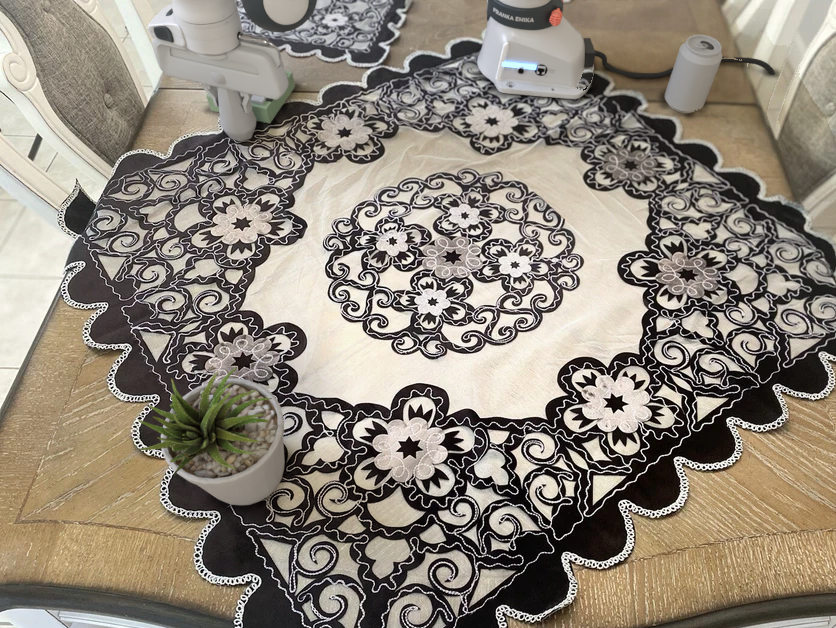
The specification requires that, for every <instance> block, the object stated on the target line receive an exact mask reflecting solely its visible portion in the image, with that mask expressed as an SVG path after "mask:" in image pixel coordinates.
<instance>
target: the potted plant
mask: <svg viewBox="0 0 836 628" xmlns="http://www.w3.org/2000/svg"><path fill="white" fill-rule="evenodd" d="M237 368H238V367H237V366H236V367H234V368H233V369H231V370H230V371H229V372H228V373H227V374H226V375H225V376H224V377H223V378H221V379H217V380H216V377H217V375H218V373H219V370H216V372H215V373H214V374H213V376H212V377H211V378H210V379H209V381H208V382H206V383H204V384H202V385H199V386H197V387H195V388H193V389H192V390H191V391H189V392H187V393H186V394H185V395H183V396H182V395H181V394H180V393H179V391H178V390H177V387H176V385H175V382H174V379H173V378H171V386H172V390H173V392H172V393H171V396H170V397H171V402H172V403H171V404H169V405H168V406H169V407H170V408H171V409H170V410H169V411H165V410H162V409H159V408H157V407H155V406H153V405H150V404H148V407H149V408H150V409H152V410H153V411H155V412H156V413H157V414H159V415H160V416H162V417H165V419H162V418H161V417H158V416H152V418H153V419H155V420H156V421H157V422H158V423H161V424H162V426H159V425H156V424H152V423H149V422H147V421H145V420H141V419H138V422H139V423H141V424H142V425H145V426H146V427H148V428H150V429H152V430H154V431H156V432H158V433H159V434H160V436H157V439H158V440H159V441H160V442H159V443H156V444H153V445H150V446H146V447H142V448H138V451H150V450H161V452H162V455H163V457H164V460H165V462H166V463H167V465H168V466H169V467H170V468H171V469H172V470H173V471H174V473H173V474H174V475H176V474H177V475H179V476H180V477H181V478H183V479H184V480H186V481H187V482H189V483H191V484H194V485H196V486H198V487H200V489H202V490H204V491H205V492H206V493H208V494H210V495H211V496H213V497H214V498H216V499H217V500H218V501H221V502H224V503H226V504H229V505H231V506H250V505H253V504H256V503H259V502H261V501H263V500H264V499H265V498H268V497H269V496H270V495H271V494H272V493H273V492H274V491H275V490H276V489H277V488H278V486H279V484H280V483H281V481H282V479H283V474H284V472H285V471H284V470H285V463H286V462H285V446H284V435H285V421H284V416H283V409H282V407H281V404H280V402H279V401H278V399H277V397H276V396H275V395H274V394H273V393H272V391H270V390H269V389H267V388H266V387H264V386H263V385H262V384H260V383H257V382H254V381H251V380H249V379H244V378H238V377H235V378H229V377H230V376H231V375H232V374H233V373H234V372H235V371H236V370H237Z"/></svg>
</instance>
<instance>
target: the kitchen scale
mask: <svg viewBox="0 0 836 628" xmlns="http://www.w3.org/2000/svg"><path fill="white" fill-rule="evenodd" d="M285 71H286V75H287V78H288V83H289V85H288V88H287V90H286V91H285V93H284V94H283V95H282V96H281V97H280V98H279V99H278V100H275V99H270V98H266V97H261V96H257V95H253V96H252V98H251V104H252V111H253V113H254V115H255V117H256V122H261V123H265V124H271V123H272V122H273V120H274V118H275V117H276V116H277V114H278V113H279V111H280V110H281V108H282V107H283V106H284V104H285V102H286V101H287V99H288V98H289V97H290V95H291V93H292V92H293V91H294V89H295V88H296V85H295V79H294V73H293V72H292V71H289V70H285ZM206 99H207V102H208V105H209V109H210V111H212V112H215V113H219V107H216V106H215V105H214V101H213V98H211V97H210V95H209V94H208V93H207V94H206Z"/></svg>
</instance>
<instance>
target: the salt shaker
mask: <svg viewBox="0 0 836 628" xmlns="http://www.w3.org/2000/svg"><path fill="white" fill-rule="evenodd" d="M211 77H212V80H213V81H214V82H215V83H218V84H223V85H225V84H226V80H225V77H224V75H223V74H221V73H218V72H211ZM217 91H218V102H219V112H218V113H219V125H220V127H221V128H222V130H223V132H224V133H225V134H226V135H227V136H228V137H229V138H230V139H231V140H233V141H238V142H244V141H248V140H250V139H253V135H254V133H255V130H256V127H257V121H256V117H255V115H254V113H253V111H252V110H251V111H250V113H245V112H244V111H243V109H242V107H241V105H240V104H242V102H243V100H244V97H243V96H241V94H240V92H238V91H234V90H229V89H224V88H220V87H217Z"/></svg>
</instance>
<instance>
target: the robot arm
mask: <svg viewBox="0 0 836 628" xmlns="http://www.w3.org/2000/svg"><path fill="white" fill-rule="evenodd" d="M237 1H238V0H171V3H168V4H167V5H165V6H164V7H163V8H162V9H161V10H160V11H158V13H156V15H155V16H154V17H153V18H152V19H151V21H150V22H149V23H148V25H147V26H146V27H147V31H148V33H149V35H150V37H151V38H152V41H151V45H152V49H153V53H154V56H155V59H156V62H157V64H158V67H159V69H160V70H161V72H162V73H164V74H165V75H166V77H169V78H174V79H179V80H183V81H186V82H187V81H188V82H191V83H192V82H193V83H197V84H200V85H201V87H202V89H203V90H204V91H205V93H207V94H209V95H210V97H211V98H213V101H214V105H215V106H216V107H219V102H218V91H217V87H220V88H224V89H229V90H234V91H238V92H240V94H241V96H243V97H244V100H243V102H242V104H240V105H241V107H242V109H243V111H244V112H245V113H250V111H251V110H252V104H251V98H252V96H253V95H257V96H261V97H266V98H270V99H275V100H278V99H279V98H280V97H281V96H282V95H283V94H284V93H285V91H286V90H287V88H288V85H289V83H288V78H287V75H286V71H287V70H286V69H285V65H284V63H283V61H282V56H281V51H280V48H279V47H278V46H277V45H275V44H274V42H272V41H270V39H269V38H268V37H265V36H256V35H253V34H250V33H246V32H244V28H243V25H242V21H241V16H240V11H239V8H238V4H237ZM240 2H241V5H242V7H243V9H244V13H245V14H246V16H247V17H248V18H249V20H250V21H251V22H252V23H253V24H254V25H255V26H257V27H258V28H260V29H262V30H264V31H267V32H271V33H286V32H291V31H294V30H296V29H299V28H300V27H301V26H303V25H304V24H305V23H306V22H308V20H309V19H310V18H311V16H312V15H313V14H314V11H315V9H316V7H317V4H318V3H317V2H318V0H240ZM564 4H565V3H564V0H486V9H485V10H486V12H485V14H486V22H487V23H486V29H485V33H484V37H483V38H484V39H483V43H482V45H481V48H480V51H479V53H478V55H477V60H476V65H477V67H478V70H479V71H480V73H481V74H482V75H483V76H484V77H486V78H487V79H488V80H489V81H490V82H492V83H493V84H494V86H495V88H496V90H497V91H499V93H502V94H508V95H509V94H510V95H521V96H533V97H534V96H535V97H544V98H554V99H566V100H567V99H568V100H578V99H580V98H581V97H583V96H585V94H586V93H587V92H588V91H589V89H590V88H591V86H592V82H593V79H594V76H593V77H592V80H591V83H590V84H589V86H588V87H587V89H586V90H584V91H583V89H585V88H586V86H585V85H582V84H579V81H580V79H581V77H582V74H583V71H584V69H592V70H594V71H595V65H594V63H595V59H596V57H597V58H599V59H601V65H602V66H603V68H605V69H606V70H607V71H609V72H611V73H615V74H618V75H621V76H623V77H628V78H632V79H643V80H644V79H647V80H648V79H650V80H651V79H652V80H653V79H662V78H665V77H668V76H671V74H672V71H673V68H674V66H673V67H670V68H669V69H667V70H664V71H660V72H631V71H626V70H623V69H619V68H617V67H615V66H613V65H611V63H609V62H608V57H607V55H606V54H605V53H603V52H602V51H600V50H596V49H595V47H594V44H593V41H592V40H591V37H584V36H583V34H582V32H581V31H579V30H578V29H577V28H576V27H575V26H574V25H573V24H572V23H571V22H570V21H569V20H567V18H566V17H565V16H564V15H563V12H564ZM724 57H725V56H722V58H724ZM733 57H734V58H736V59H738V60H734V59H722V60H721V62H720V63H736V64H752V65H756V66H759V67H761V68H763V69H764V70H766V71H767V73H768V74H769V75H771V76H775V75H776V72H775V70H774V68H773V67H772V66H771V65H770V64H769V63H767V62H766V61H764V60H762V59H758V58H753V57H738V56H733ZM739 59H740V60H741V59H742V61H739ZM211 72H218V73H221V74H223V75H224V77H225V80H226V84H225V85H223V84H218V83H215V82H214V81H213V80H212V77H211ZM593 75H594V73H593ZM577 84H579V85H577ZM575 86H577V87H578V89H577V88H576V87H575ZM580 89H581V90H580Z"/></svg>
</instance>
